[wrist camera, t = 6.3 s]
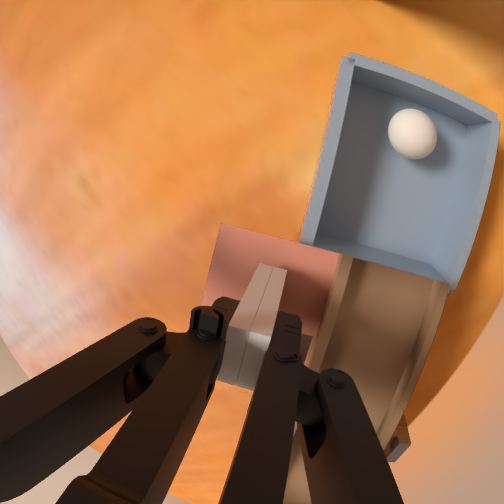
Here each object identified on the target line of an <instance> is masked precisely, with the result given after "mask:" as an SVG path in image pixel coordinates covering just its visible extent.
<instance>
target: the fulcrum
mask: <svg viewBox="0 0 504 504" xmlns="http://www.w3.org/2000/svg"><path fill="white" fill-rule="evenodd" d="M312 338H313V336H310V335H306V334H302V333H301V343H300V353H299V354H300V355H301V359H302V362H303V364H304V363H305V360H306V357H307V354H308V350H309V347H310V344H311V341H312ZM410 444H411V442H410V437H409V433H408V428H407V424H406V420H405V416H404V412H403V415H402V417H401V419H400V421H399V423H398V425H397V427H396V428H395V430H394V432H393V434H392V436H391V438H390V440H389V443H388V446H387V448H386V449H385V450H384V454H385V456H386V459H387V461H388V462H395V461H396V460H397V459H398V458H399V457H400V456H401V455H402V454H403V452H404V451H405V450H406V449H407V448H408V447H409V446H410Z"/></svg>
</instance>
